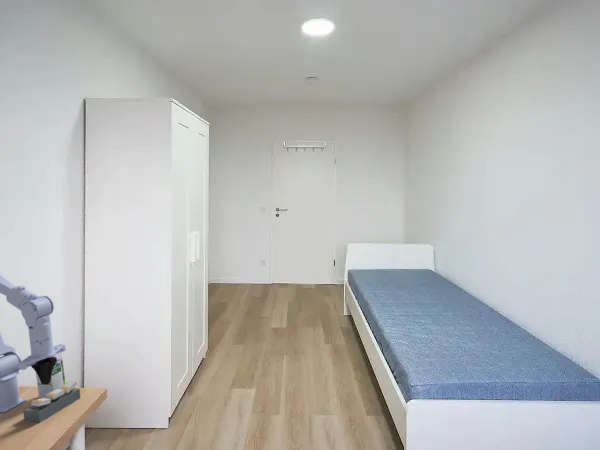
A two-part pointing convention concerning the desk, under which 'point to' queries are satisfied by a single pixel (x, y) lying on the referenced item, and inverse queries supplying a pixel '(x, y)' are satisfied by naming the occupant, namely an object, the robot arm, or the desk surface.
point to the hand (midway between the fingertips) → (46, 383)
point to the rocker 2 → (55, 394)
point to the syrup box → (53, 378)
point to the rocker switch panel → (51, 406)
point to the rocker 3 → (69, 386)
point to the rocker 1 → (40, 402)
